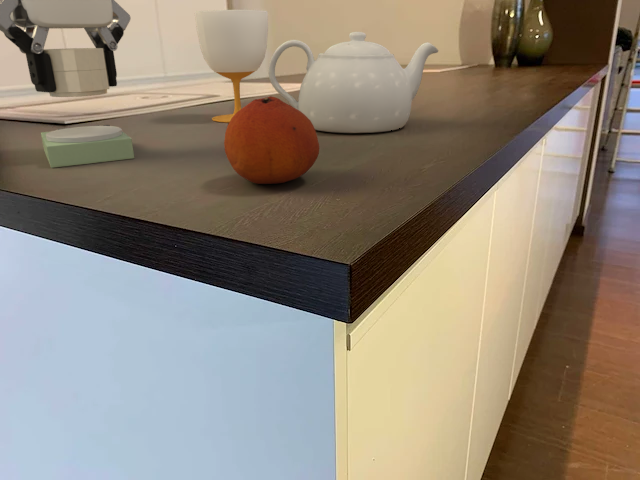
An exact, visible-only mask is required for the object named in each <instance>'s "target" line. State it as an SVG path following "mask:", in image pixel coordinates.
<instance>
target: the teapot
mask: <svg viewBox="0 0 640 480" xmlns="http://www.w3.org/2000/svg"><path fill="white" fill-rule="evenodd" d="M348 36H349V39H350V40H349V41H342V42H339V43H336V44H333V45H331V46H330V47H328V48H327V49H326V50H325V51H324V52H322V53H321V52H320V53H318V55H317V58H316V59H315V57H314V54H313V51H312V49H311V47H310V46H309V45H308V44H307V43H305V42H303V41H302V40H298V39H289V40H287V41H285V42H283V43H281V44H280V45H279V46H278V47H276V49H275V51H274V52H273V54H272V55H271V58H270V60H269V63H268V70H267V71H268V79H269V81H270V84H271V85H272V88H273V89H274V90H275V91H276V92H277V93H278V94H279V95H280V96H281V97H282V98H283V99H284V100H286V101H287V102H288V104H289V105H291V106H292V107H294V108H296V109H298V110H299V111H301V112H302V113H303V114H304V115H305V116H307V118H308V119H309V120H310V121H311V122H312V124H313V126H314V128H315V131H319V132H326V133H336V134H337V133H338V134H369V133H383V132H391V130H392V131H396V130H400V129H402V128H404V126H406V124H407V122H408V121H409V119H410V116H411V111H412V102H413V100H414V99H415V98H416V96H417V94H418V92H419V89H420V86H421V82H422V77H423V74H424V69H425V64H426V62H427V59H428V58H429V56H430V55H432V54H433V55H434V54H437V53H439V49H438V47H436V46H435V45H433V44H432V43H431V42H429V41H427V42H424V43H422V44H421V45H419V46H418V47H417V49H415V52H414V54H413V55H412V57H411V59H410V61H409V62H408V64H407V66H406V67H405V68H403V67H402V65H401V64H400V63H399V61H398V60H397V59H396V57H395V55H394V54H393V53H391V51H389V49H388V48H387V47H385V46H384V45H382V44H379V43H378V42H373V41H366V37H367V34H366V33H365V32H363V31H352V32H350V33H349V35H348ZM292 47H294V48H295V47H296V48H300V49H302V50H303V51H304V53H305V54H306V57H307V63H306V67H305V68H306V73H305V75H304V77H303V79H302V81H301V84H300V88H299V92H298V100H297V99H296V98H294V97H293V96H292V94H290V93H289V92H287V91H286V90H285V89H284V88H283V87H282V86H281V84H280V83H279V81H278V79H277V77H276V65H277V62H278V60H279V58H280V56H281V55H282V54H283V53H284V51H286V50H287V49H289V48H292ZM399 128H400V129H399Z"/></svg>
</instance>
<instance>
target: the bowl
mask: <svg viewBox="0 0 640 480" xmlns="http://www.w3.org/2000/svg"><path fill="white" fill-rule="evenodd" d="M44 54H48V55H49V56H50V59H51V64H52V70H53V75H54V80H55V86H56V91H55V92H48V93H49V97H52V98H81V97H92V96H93V97H94V96H101V95H106V94H108V90H110V88H111V87H110V86H109V79H108V73H107V66H106V60H105V53H104V48H96V47H79V48H77V47H75V48H71V47H70V48H44Z"/></svg>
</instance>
